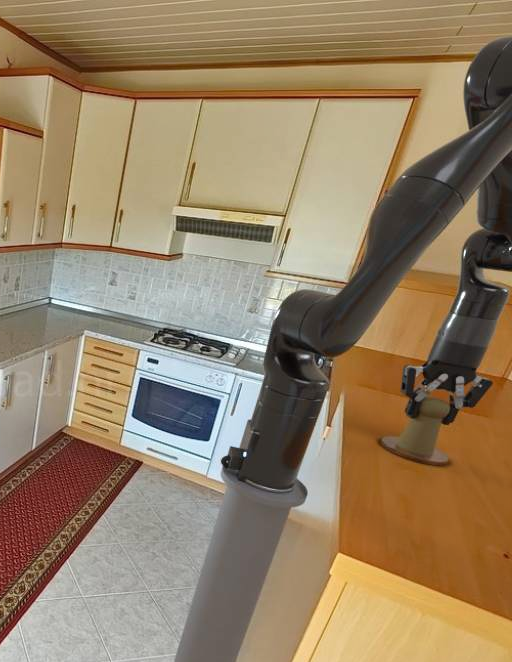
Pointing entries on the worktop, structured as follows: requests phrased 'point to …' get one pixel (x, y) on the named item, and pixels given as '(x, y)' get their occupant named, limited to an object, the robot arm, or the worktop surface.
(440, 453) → the disc
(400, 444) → the cork
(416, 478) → the worktop surface
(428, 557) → the worktop surface
